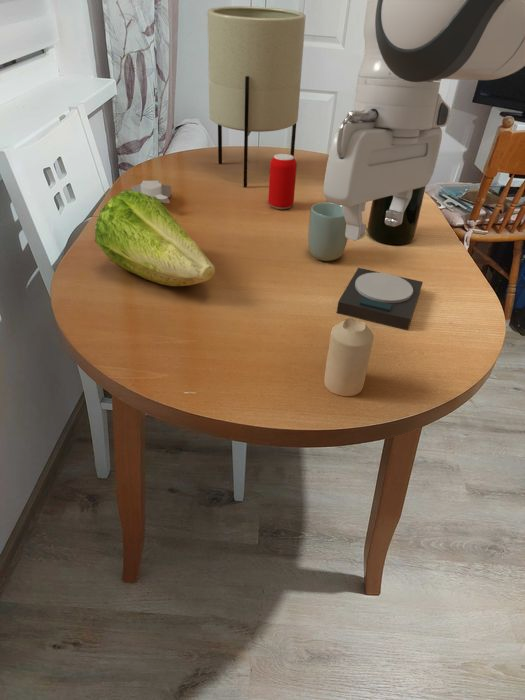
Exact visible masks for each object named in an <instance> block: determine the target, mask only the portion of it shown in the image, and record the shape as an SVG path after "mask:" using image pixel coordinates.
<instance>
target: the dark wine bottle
mask: <svg viewBox="0 0 525 700" xmlns="http://www.w3.org/2000/svg"><path fill="white" fill-rule="evenodd" d="M432 82H434V81H432ZM426 186H427V185H426ZM426 186H424V187H420V188H417V189H413V192H412V197H411V199H410V201H409V203H408V205H407V207H406V209H405V211H404V214H403V220H402V223H401V224H400V225H397V226H395V227H393V226H389V225H386V224H385V218H386V216H385V215H386V211H387V210H389V209H390V206H391V203H392V200H393V197H394V196H392V195H391V196H387V197H383V198H380V199H376V200H372V201H371V205H370V211H369V217H368V221H367V229H366V231H367V232H366V233H367V234H368V236H369V237H370V238H371V239H373V240H375V241H377V242H379V243H382V244H386V245H406V244H408V243H411V242H412V241H413V240H414V238H415V236H416V232H417V228H418V223H419V220H420V215H421V208H422V206H423V201H424V195H425V191H426Z"/></svg>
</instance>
